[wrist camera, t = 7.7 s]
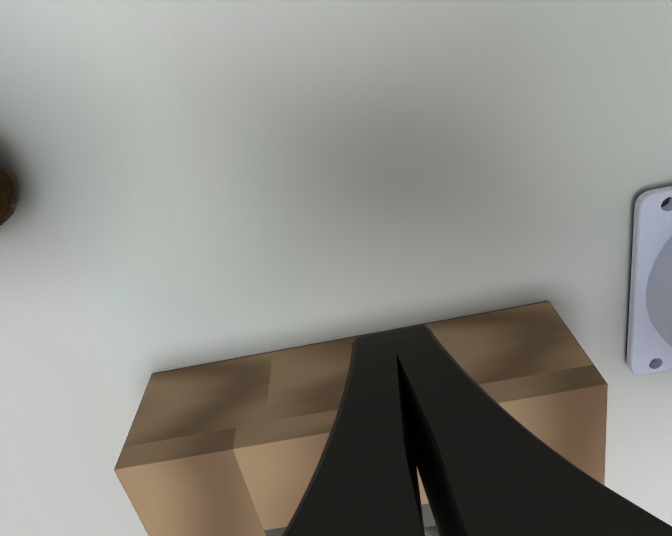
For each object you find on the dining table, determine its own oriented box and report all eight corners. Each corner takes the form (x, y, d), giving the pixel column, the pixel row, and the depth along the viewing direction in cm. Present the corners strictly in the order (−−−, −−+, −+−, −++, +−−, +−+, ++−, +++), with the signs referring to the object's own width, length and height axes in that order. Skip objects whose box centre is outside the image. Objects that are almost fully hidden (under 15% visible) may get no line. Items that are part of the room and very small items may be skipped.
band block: (549, 301, 22) (607, 384, 18) (555, 561, 30) (598, 665, 25) (152, 373, 23) (114, 469, 19) (254, 608, 31) (244, 717, 26)
